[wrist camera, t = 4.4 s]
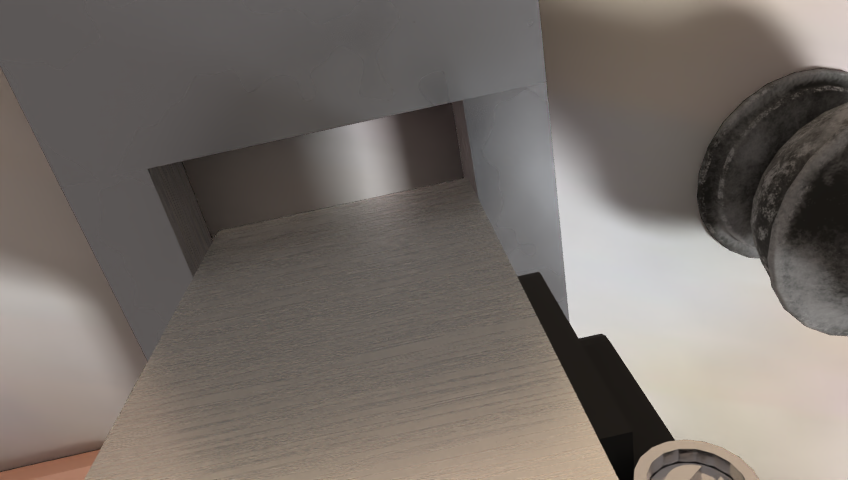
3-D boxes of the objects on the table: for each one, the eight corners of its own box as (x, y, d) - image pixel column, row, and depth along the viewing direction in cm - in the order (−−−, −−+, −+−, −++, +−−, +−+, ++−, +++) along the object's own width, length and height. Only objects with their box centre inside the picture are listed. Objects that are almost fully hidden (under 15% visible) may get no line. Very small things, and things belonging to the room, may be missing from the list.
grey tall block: (500, 377, 14) (711, 998, 6) (290, 423, 14) (182, 1115, 5) (467, 177, 12) (726, 695, 3) (218, 230, 12) (-136, 888, 3)
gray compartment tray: (574, 544, 22) (596, 600, 20) (304, 607, 21) (300, 670, 20) (478, -306, 11) (506, -360, 9) (-63, -195, 11) (-150, -227, 9)
